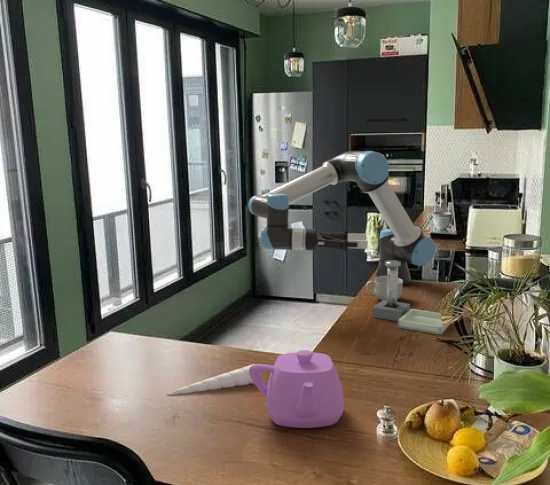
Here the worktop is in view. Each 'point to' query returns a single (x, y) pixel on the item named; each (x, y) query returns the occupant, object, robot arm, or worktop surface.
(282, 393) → the teapot
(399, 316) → the socket block
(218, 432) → the worktop surface
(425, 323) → the tray
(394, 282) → the pin
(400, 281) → the teacup
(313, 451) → the worktop surface
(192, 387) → the unicorn horn
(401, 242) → the robot arm
